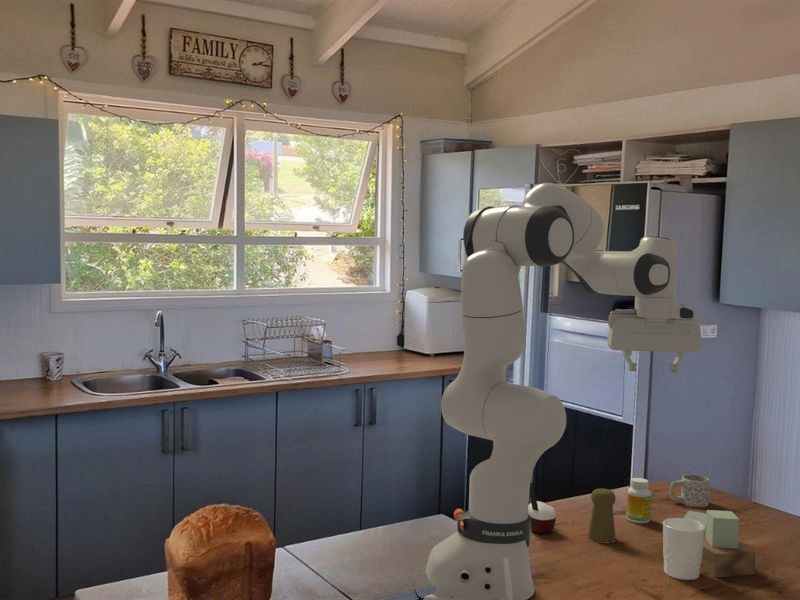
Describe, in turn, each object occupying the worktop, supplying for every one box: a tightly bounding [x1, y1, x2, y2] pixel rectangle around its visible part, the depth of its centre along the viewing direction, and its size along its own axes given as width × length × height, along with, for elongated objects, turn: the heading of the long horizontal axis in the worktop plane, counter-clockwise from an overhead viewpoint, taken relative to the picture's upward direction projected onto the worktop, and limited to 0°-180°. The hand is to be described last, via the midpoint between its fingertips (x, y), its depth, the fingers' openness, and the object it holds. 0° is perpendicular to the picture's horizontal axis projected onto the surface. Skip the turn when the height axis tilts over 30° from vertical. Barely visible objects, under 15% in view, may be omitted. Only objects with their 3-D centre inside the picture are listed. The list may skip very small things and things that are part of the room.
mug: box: [669, 473, 711, 508], centre depth 208 cm, size 10×7×7 cm, turn 94°
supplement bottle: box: [626, 477, 652, 524], centre depth 194 cm, size 5×5×10 cm
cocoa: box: [528, 481, 557, 535], centre depth 184 cm, size 10×6×12 cm, turn 111°
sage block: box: [705, 509, 740, 549], centre depth 166 cm, size 5×5×6 cm
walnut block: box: [700, 537, 756, 578], centre depth 166 cm, size 9×9×5 cm
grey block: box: [683, 510, 707, 537], centre depth 181 cm, size 9×9×5 cm
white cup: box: [662, 517, 705, 581], centre depth 162 cm, size 8×8×10 cm
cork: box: [587, 488, 617, 543], centre depth 181 cm, size 6×6×11 cm
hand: (652, 371), depth 183 cm, fingers open, 8 cm apart
